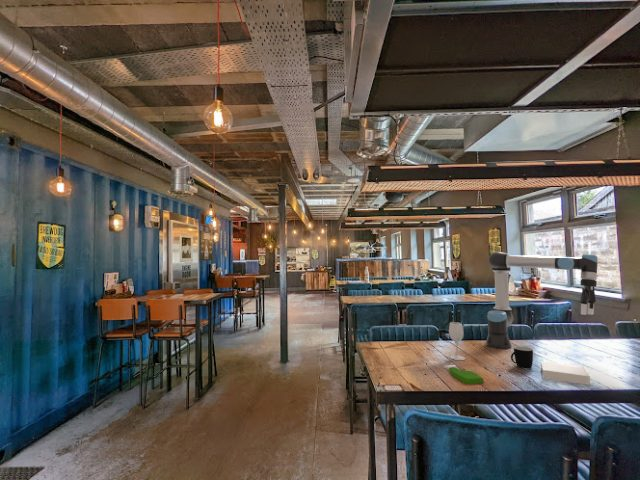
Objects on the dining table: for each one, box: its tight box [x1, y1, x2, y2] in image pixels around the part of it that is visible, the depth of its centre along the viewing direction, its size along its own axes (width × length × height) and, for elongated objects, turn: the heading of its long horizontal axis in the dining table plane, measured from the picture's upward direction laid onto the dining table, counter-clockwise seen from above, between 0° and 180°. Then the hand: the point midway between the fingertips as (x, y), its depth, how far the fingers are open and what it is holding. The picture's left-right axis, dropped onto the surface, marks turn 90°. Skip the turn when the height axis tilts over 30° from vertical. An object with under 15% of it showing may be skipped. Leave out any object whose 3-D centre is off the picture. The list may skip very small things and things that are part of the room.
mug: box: [510, 345, 534, 370], centre depth 174 cm, size 12×9×10 cm
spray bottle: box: [443, 364, 484, 385], centre depth 164 cm, size 3×11×24 cm
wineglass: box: [448, 321, 466, 361], centre depth 192 cm, size 9×9×21 cm
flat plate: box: [540, 360, 591, 386], centre depth 159 cm, size 18×16×4 cm
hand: (586, 314), depth 190 cm, fingers open, 13 cm apart
